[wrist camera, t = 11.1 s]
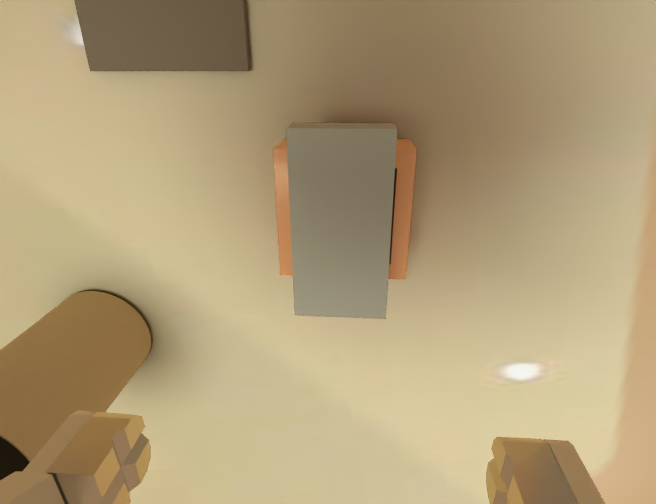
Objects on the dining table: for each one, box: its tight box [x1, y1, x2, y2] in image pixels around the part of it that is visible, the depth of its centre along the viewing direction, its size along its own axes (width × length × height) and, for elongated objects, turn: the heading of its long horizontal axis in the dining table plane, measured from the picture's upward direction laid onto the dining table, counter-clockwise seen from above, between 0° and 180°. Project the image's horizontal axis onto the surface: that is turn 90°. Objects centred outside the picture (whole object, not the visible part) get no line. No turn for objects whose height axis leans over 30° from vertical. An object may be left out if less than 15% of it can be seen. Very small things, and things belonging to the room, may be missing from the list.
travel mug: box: [0, 291, 151, 480], centre depth 26 cm, size 8×8×18 cm
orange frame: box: [273, 138, 417, 279], centre depth 26 cm, size 8×8×4 cm
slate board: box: [286, 123, 397, 319], centre depth 23 cm, size 11×6×2 cm, turn 0°
